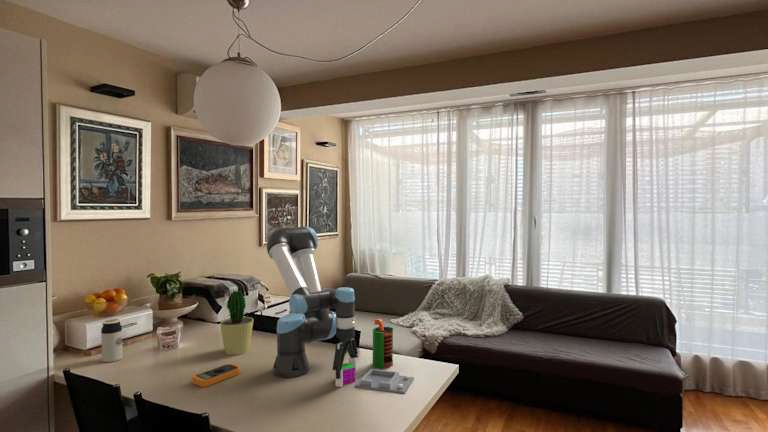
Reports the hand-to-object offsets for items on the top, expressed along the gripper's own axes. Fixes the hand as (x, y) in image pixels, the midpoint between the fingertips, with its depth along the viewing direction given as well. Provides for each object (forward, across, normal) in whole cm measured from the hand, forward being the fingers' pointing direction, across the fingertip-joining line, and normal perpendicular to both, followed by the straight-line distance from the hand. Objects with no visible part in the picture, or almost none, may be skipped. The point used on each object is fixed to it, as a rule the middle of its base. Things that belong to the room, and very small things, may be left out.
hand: (345, 379), depth 172 cm
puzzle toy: (+1, 0, 0) cm, 1 cm away
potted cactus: (0, +16, +64) cm, 66 cm away
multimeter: (+1, -14, +51) cm, 53 cm away
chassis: (0, +2, -16) cm, 16 cm away
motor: (0, +20, -9) cm, 22 cm away
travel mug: (0, -11, +112) cm, 113 cm away
